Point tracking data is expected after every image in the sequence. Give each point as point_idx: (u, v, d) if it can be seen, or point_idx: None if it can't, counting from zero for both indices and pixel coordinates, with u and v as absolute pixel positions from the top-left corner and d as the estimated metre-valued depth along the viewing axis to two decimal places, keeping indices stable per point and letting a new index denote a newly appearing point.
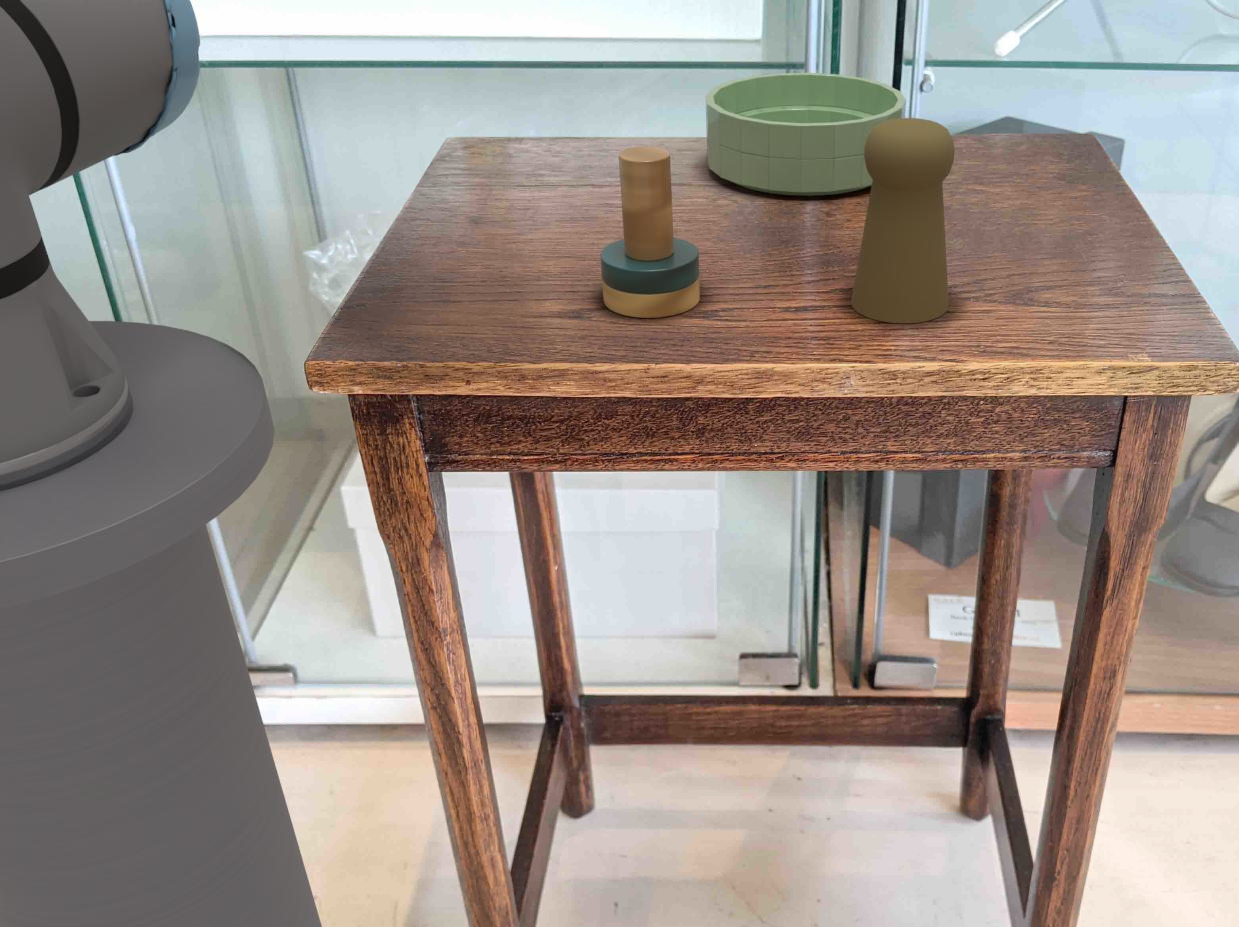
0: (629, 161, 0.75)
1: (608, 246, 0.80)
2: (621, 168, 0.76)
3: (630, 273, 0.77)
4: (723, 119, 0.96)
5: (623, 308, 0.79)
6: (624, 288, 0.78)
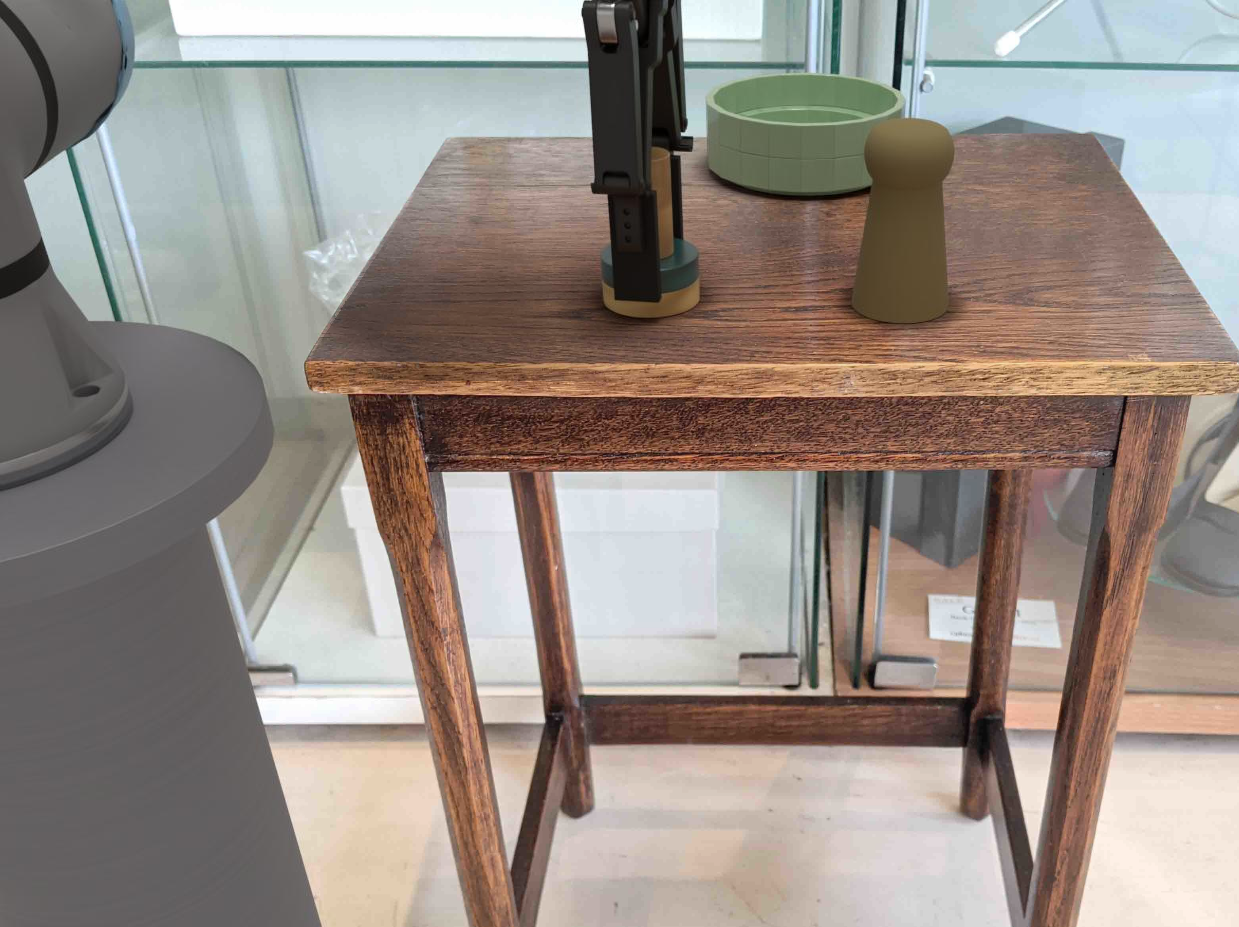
0: None
1: (608, 246, 0.80)
2: None
3: None
4: (723, 119, 0.96)
5: (623, 308, 0.79)
6: None
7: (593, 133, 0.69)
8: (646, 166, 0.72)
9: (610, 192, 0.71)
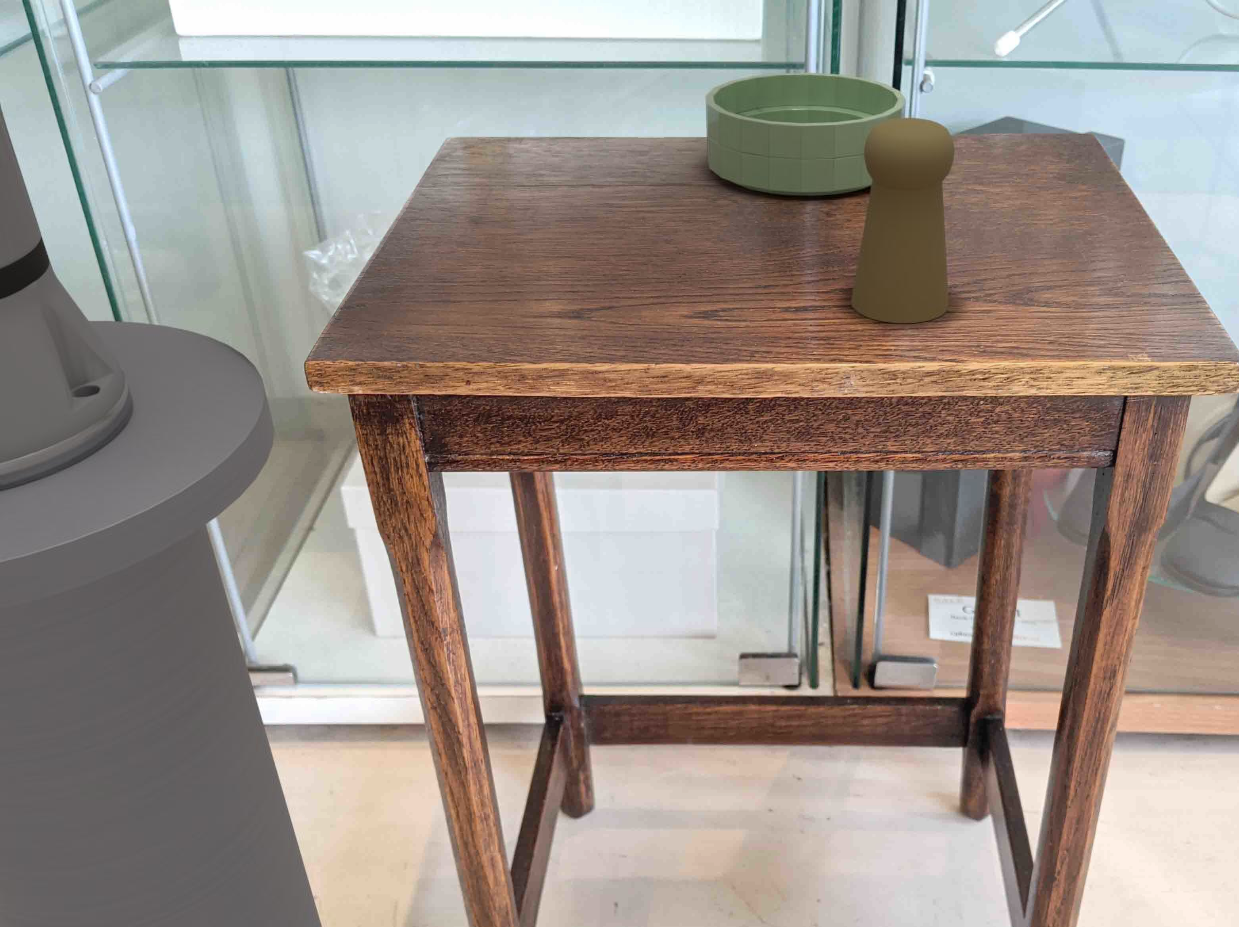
0: None
1: None
2: None
3: None
4: (723, 119, 0.96)
5: None
6: None
7: None
8: None
9: None
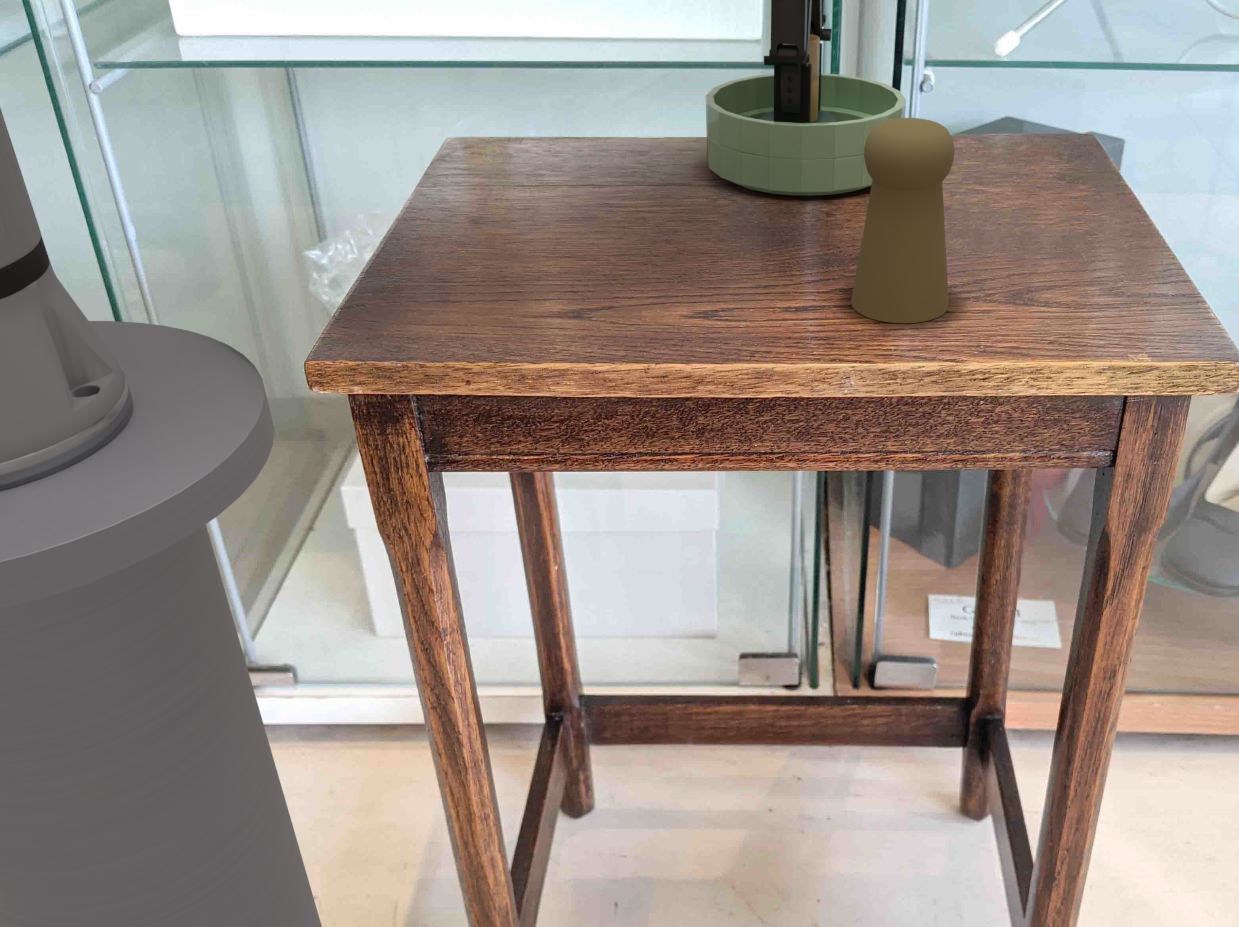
0: None
1: (765, 115, 1.02)
2: None
3: None
4: (723, 119, 0.96)
5: None
6: None
7: (771, 13, 0.91)
8: (807, 42, 0.94)
9: (781, 61, 0.93)
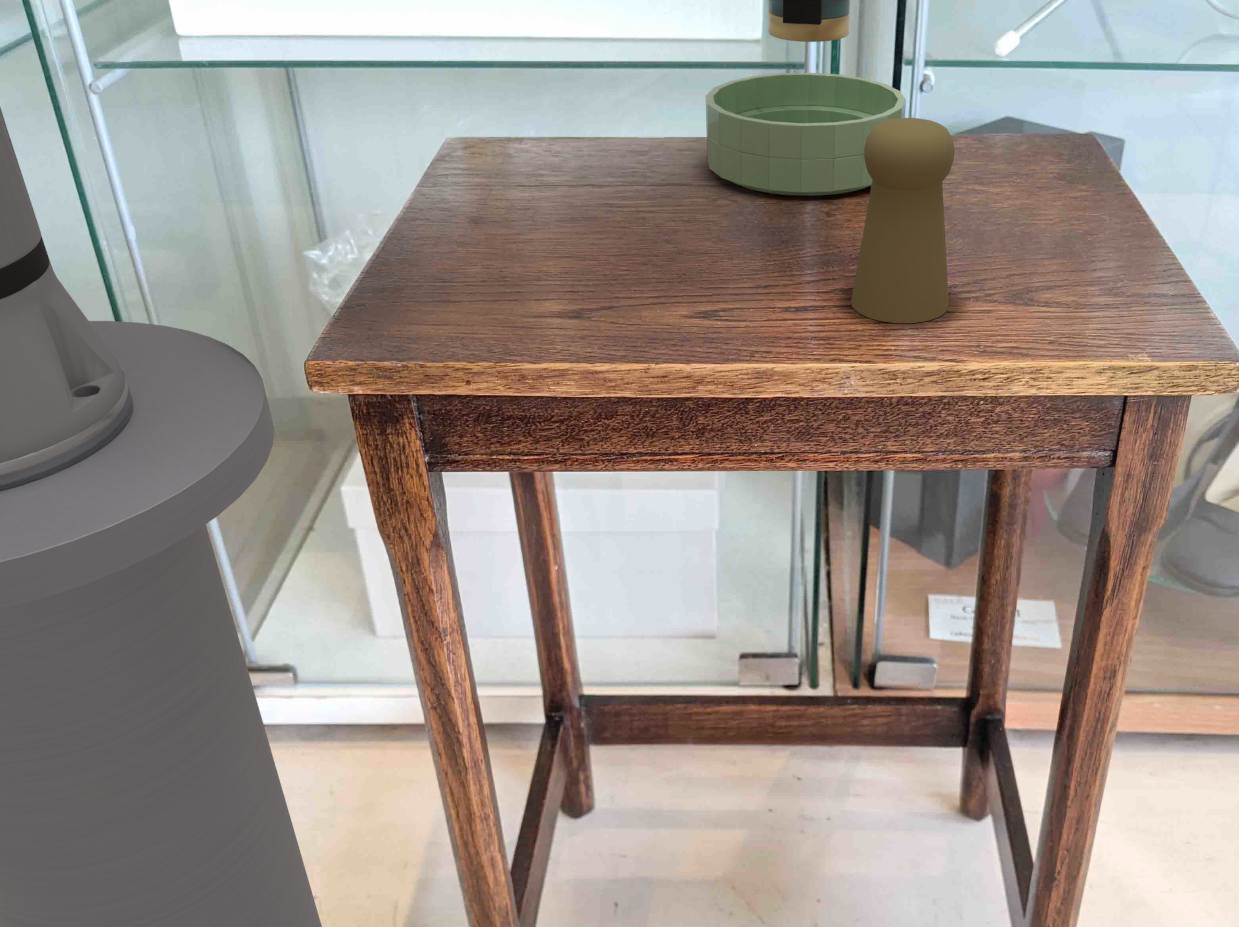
0: None
1: None
2: None
3: None
4: (723, 119, 0.96)
5: (788, 34, 0.94)
6: None
7: None
8: None
9: None
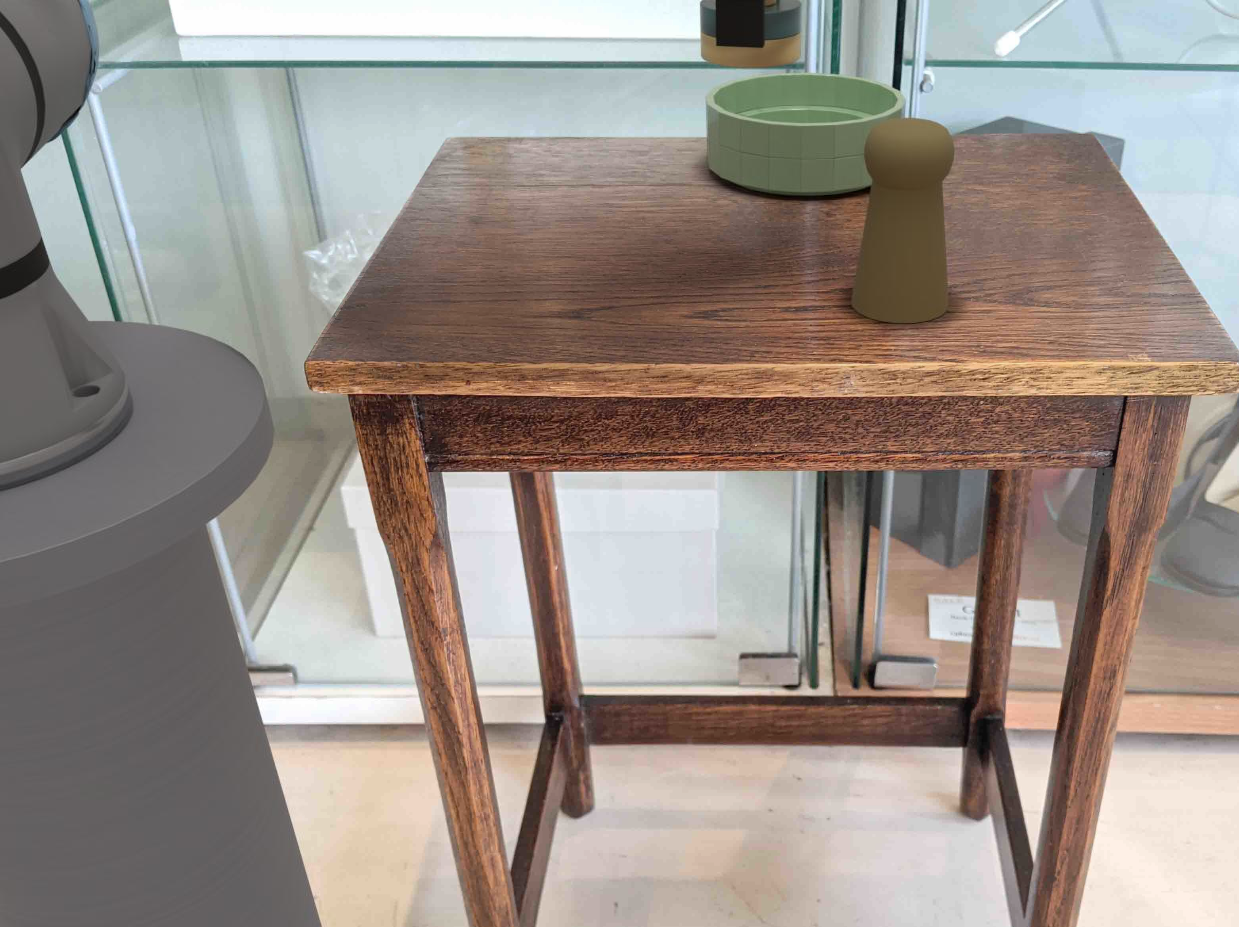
0: None
1: None
2: None
3: None
4: (723, 119, 0.96)
5: (724, 58, 0.76)
6: None
7: None
8: None
9: None
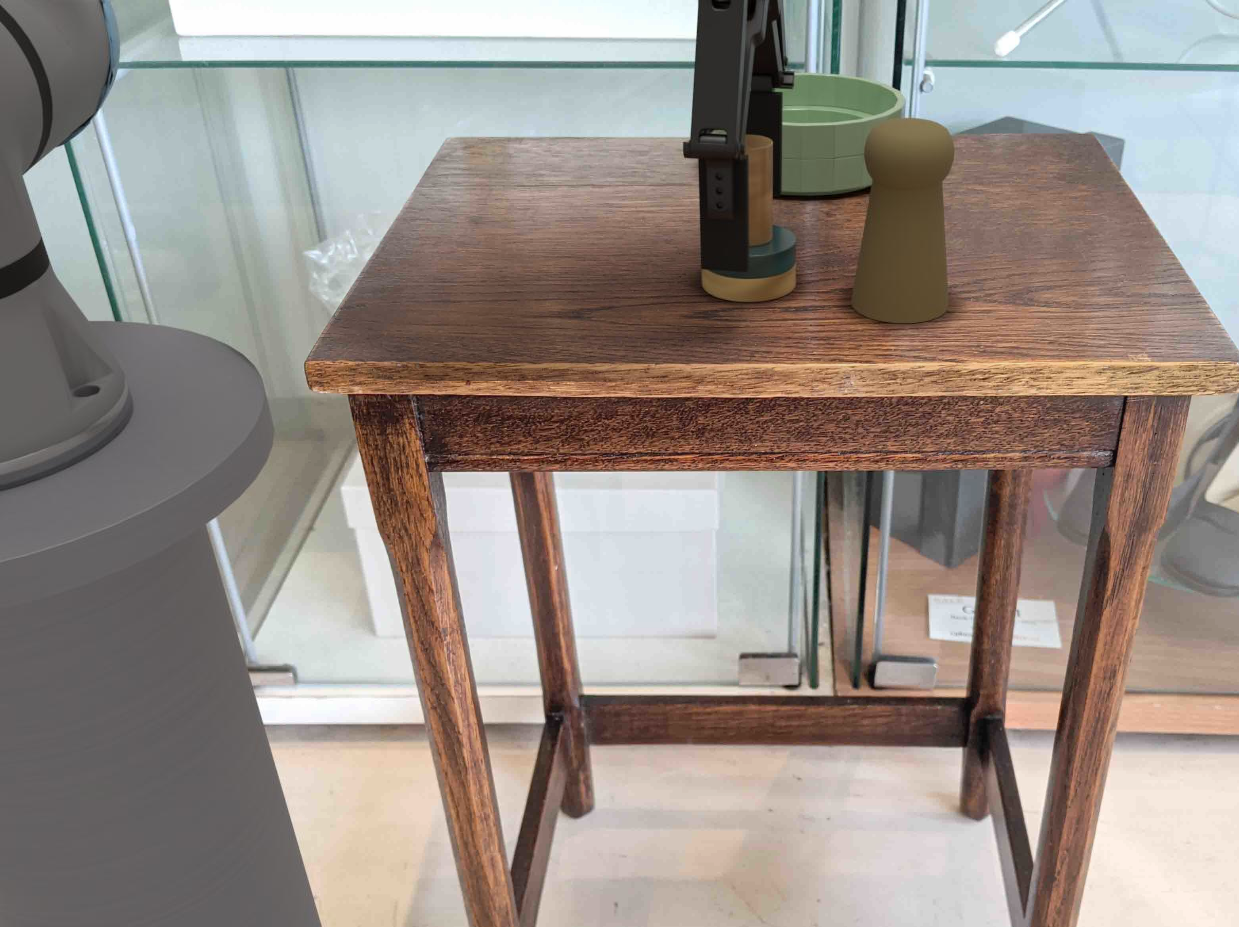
0: None
1: None
2: None
3: None
4: None
5: (724, 292, 0.81)
6: (726, 273, 0.80)
7: (694, 89, 0.68)
8: (742, 127, 0.70)
9: (705, 155, 0.69)
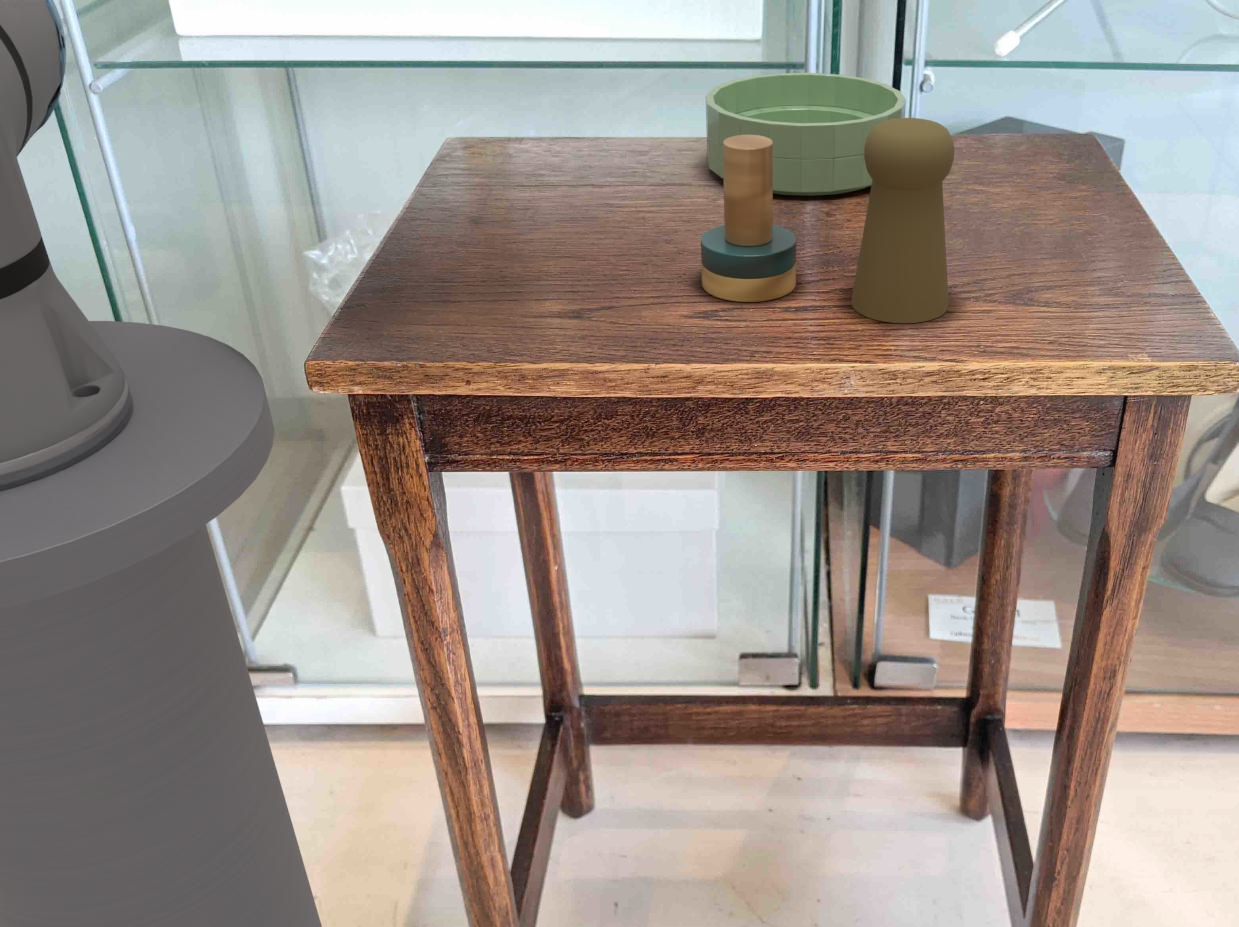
0: (734, 149, 0.77)
1: (707, 232, 0.82)
2: (726, 156, 0.78)
3: (733, 257, 0.79)
4: (723, 119, 0.96)
5: (724, 292, 0.81)
6: (726, 273, 0.80)
7: None
8: None
9: None
